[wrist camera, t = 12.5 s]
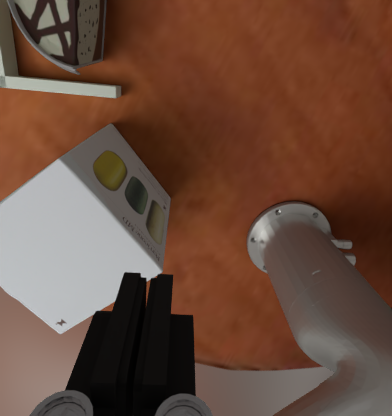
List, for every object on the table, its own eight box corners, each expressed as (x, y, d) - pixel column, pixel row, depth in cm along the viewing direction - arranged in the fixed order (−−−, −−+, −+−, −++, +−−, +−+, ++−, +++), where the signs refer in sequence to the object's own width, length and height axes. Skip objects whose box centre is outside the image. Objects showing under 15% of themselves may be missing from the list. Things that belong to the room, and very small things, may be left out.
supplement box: (174, 199, 42) (166, 274, 26) (104, 245, 45) (59, 338, 29) (112, 120, 38) (57, 154, 22) (38, 177, 40) (-58, 244, 25)
